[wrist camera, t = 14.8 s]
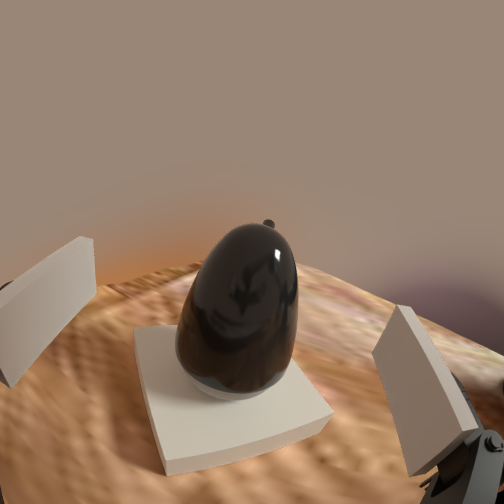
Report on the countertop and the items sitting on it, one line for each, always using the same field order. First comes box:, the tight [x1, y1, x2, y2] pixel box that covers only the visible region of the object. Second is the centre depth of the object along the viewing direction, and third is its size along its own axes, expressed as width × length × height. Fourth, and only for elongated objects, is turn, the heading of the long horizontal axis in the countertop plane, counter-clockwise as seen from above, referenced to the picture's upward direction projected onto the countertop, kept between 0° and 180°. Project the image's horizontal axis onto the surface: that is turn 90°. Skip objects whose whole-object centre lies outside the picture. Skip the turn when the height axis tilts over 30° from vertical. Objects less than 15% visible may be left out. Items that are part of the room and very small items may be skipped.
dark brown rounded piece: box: [175, 220, 298, 401], centre depth 23 cm, size 10×10×15 cm
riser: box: [133, 325, 334, 476], centre depth 27 cm, size 16×16×4 cm
